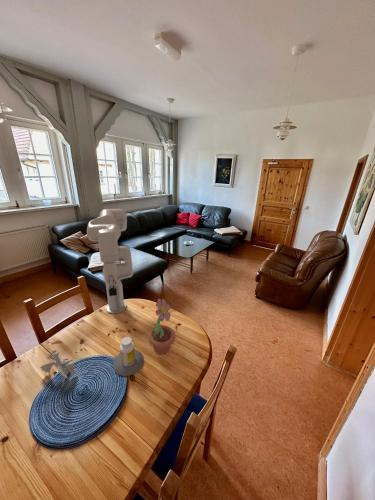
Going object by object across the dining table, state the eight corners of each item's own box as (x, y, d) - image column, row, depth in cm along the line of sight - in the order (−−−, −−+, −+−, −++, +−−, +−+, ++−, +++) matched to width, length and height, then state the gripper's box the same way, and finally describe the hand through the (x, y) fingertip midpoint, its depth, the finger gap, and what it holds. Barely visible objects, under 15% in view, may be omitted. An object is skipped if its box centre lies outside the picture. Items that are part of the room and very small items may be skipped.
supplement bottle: (137, 355, 102) (136, 336, 97) (132, 367, 95) (131, 347, 91) (124, 354, 102) (122, 334, 97) (118, 366, 96) (116, 345, 91)
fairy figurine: (71, 391, 83) (47, 371, 77) (48, 384, 92) (25, 366, 86) (88, 367, 90) (67, 347, 84) (65, 362, 99) (45, 345, 93)
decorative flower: (170, 364, 99) (171, 314, 88) (143, 358, 101) (141, 309, 90) (177, 340, 113) (179, 294, 101) (154, 335, 115) (153, 290, 104)
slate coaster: (112, 354, 103) (112, 353, 102) (141, 347, 107) (141, 346, 107) (113, 380, 90) (113, 378, 90) (145, 371, 95) (145, 369, 95)
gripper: (100, 250, 97) (104, 281, 103) (99, 266, 82) (104, 301, 88) (117, 248, 99) (120, 279, 106) (119, 264, 84) (122, 298, 91)
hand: (112, 289), depth 97 cm, fingers open, 9 cm apart
